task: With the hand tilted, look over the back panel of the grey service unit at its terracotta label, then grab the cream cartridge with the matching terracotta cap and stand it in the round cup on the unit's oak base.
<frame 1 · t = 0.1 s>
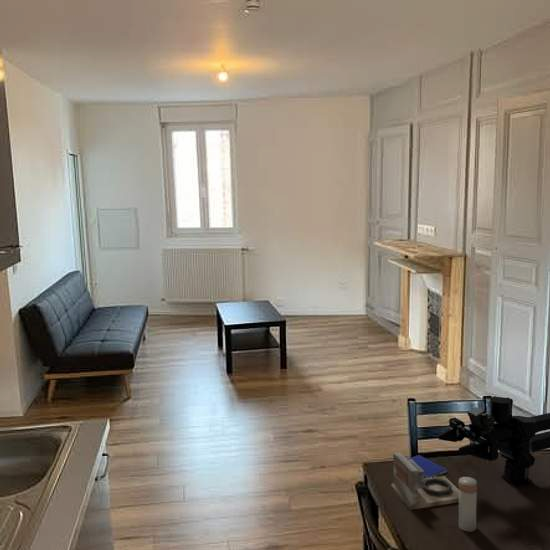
hand: (448, 443, 163), 17 cm above the table, tool horizontal, fingers open, 9 cm apart
service unit: (436, 492, 169), on the table
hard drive: (423, 469, 184), on the table
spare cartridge: (467, 526, 151), on the table
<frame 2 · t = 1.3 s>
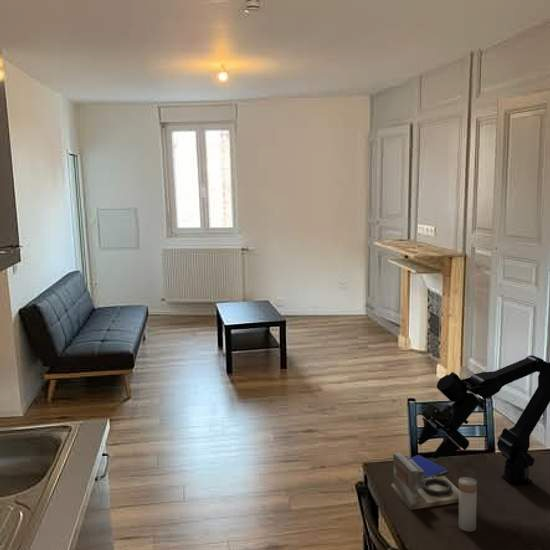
hand: (425, 450, 166), 14 cm above the table, tool tilted 45°, fingers open, 9 cm apart
nothing on the table moved.
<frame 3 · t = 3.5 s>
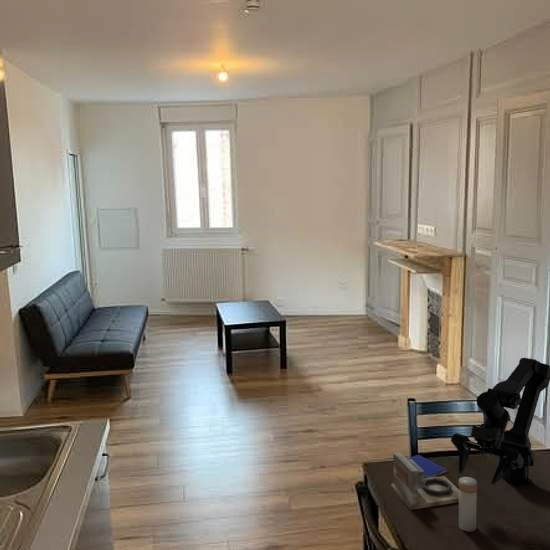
hand: (476, 478, 153), 12 cm above the table, tool tilted 45°, fingers open, 9 cm apart
nothing on the table moved.
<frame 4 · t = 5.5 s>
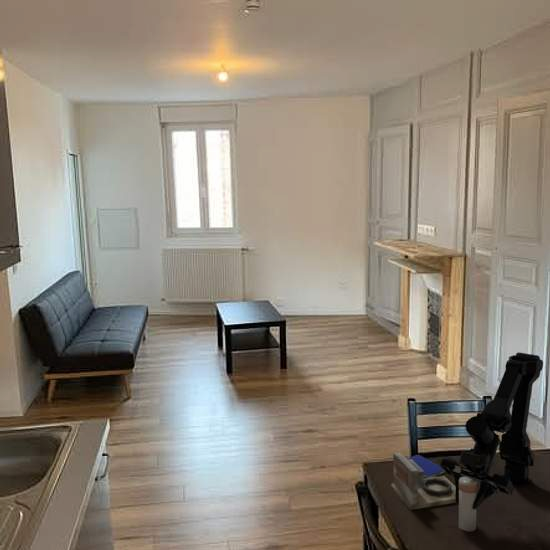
hand: (465, 505, 149), 7 cm above the table, tool tilted 45°, fingers closed on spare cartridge, 4 cm apart
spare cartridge: (467, 526, 151), on the table, touching gripper
everything else where it was.
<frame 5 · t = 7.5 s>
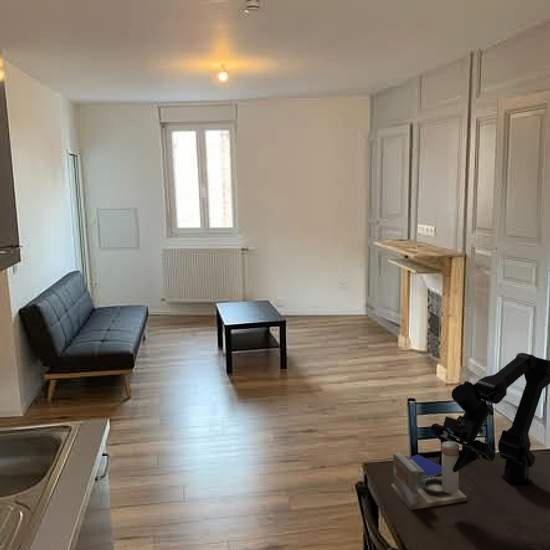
hand: (446, 468, 155), 13 cm above the table, tool tilted 45°, fingers closed on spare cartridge, 4 cm apart
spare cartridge: (450, 489, 157), point 7 cm above the table, touching gripper
everything else where it was.
when the fingers open (9 cm above the table, at t = 9.7 s): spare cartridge drops 1 cm, resting on service unit.
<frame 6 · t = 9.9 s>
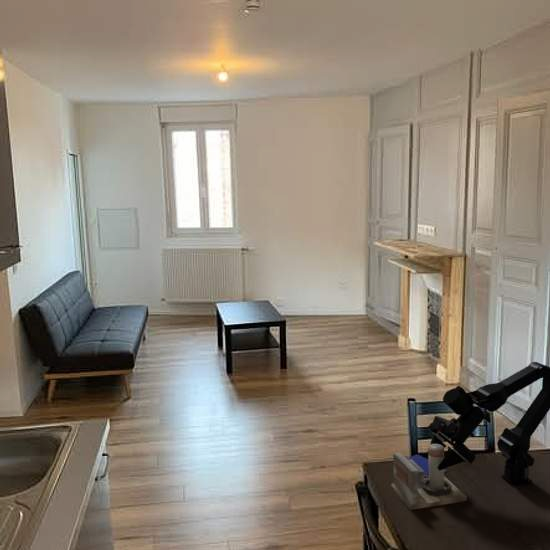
hand: (432, 463, 167), 9 cm above the table, tool tilted 45°, fingers open, 7 cm apart
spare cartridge: (436, 488, 168), point 1 cm above the table, touching service unit
everything else where it was.
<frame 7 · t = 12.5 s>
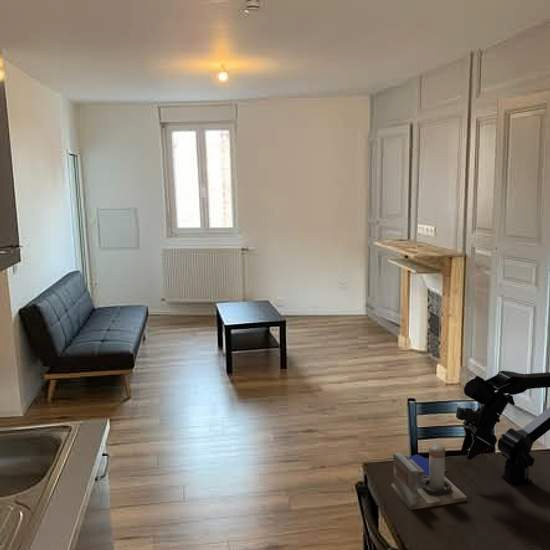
hand: (465, 455, 169), 10 cm above the table, tool tilted 35°, fingers open, 9 cm apart
nothing on the table moved.
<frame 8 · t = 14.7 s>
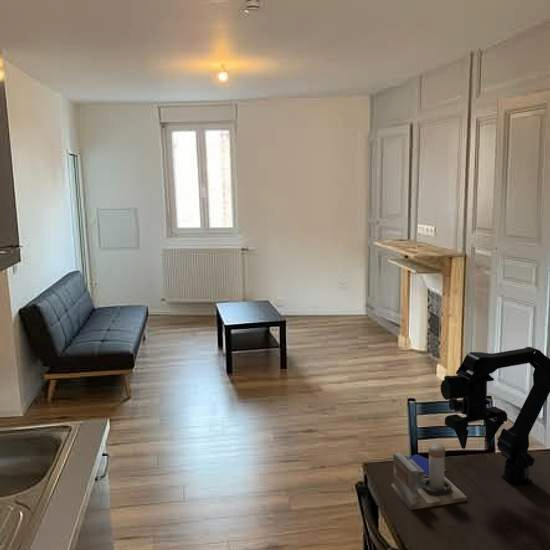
hand: (475, 445, 170), 13 cm above the table, tool pointing down, fingers open, 9 cm apart
nothing on the table moved.
at the end: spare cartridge 0.1 cm off-centre on the service unit, point 1.2 cm above the service unit's base; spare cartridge tilted 1°; the gripper is holding nothing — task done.
